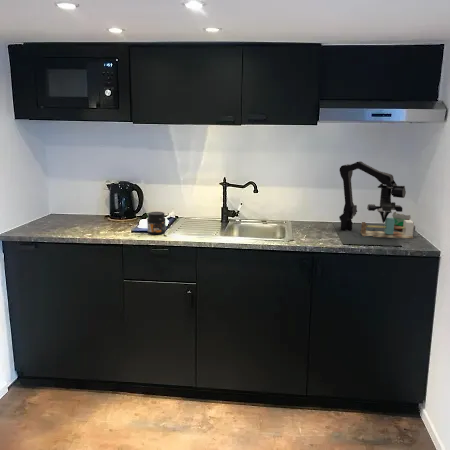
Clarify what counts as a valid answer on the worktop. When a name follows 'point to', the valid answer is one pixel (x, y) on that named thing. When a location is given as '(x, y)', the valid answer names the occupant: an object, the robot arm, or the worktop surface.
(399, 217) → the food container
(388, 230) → the sleeve
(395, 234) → the comb board
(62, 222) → the worktop surface
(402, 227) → the fibre cord
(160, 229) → the supplement container
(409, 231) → the connector block
